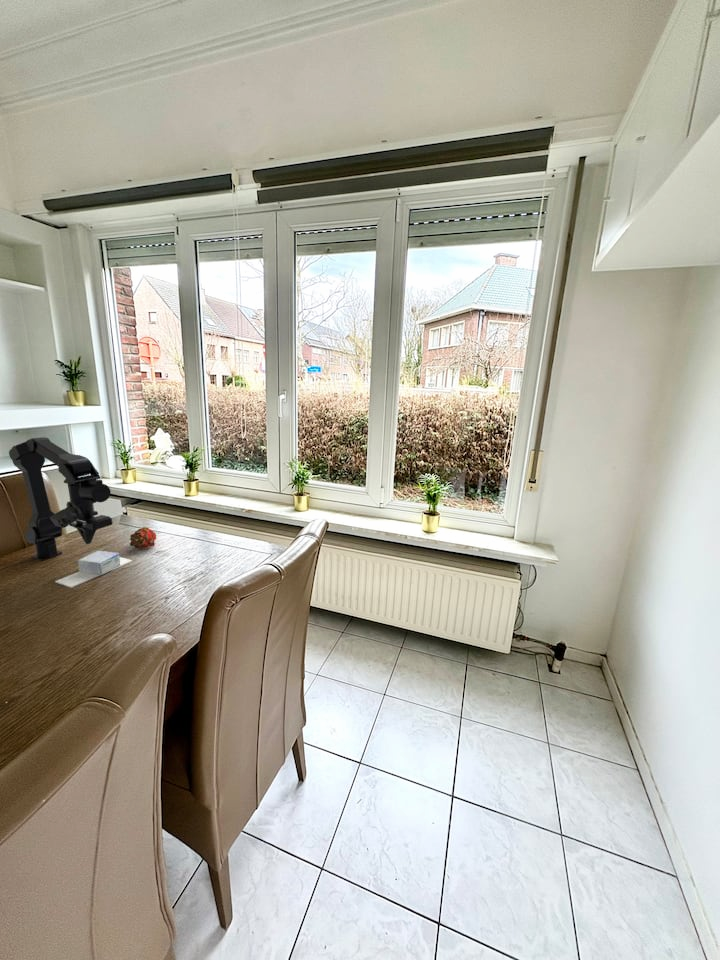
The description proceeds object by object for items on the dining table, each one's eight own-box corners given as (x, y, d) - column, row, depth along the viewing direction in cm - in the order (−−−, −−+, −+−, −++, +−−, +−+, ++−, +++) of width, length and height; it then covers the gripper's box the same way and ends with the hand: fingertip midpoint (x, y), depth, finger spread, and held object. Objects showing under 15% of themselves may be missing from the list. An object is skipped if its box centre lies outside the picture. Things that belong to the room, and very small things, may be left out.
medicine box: (78, 572, 123) (101, 575, 121) (76, 559, 122) (99, 563, 120) (99, 561, 130) (121, 564, 129) (97, 549, 129) (119, 552, 128)
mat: (55, 582, 117) (55, 581, 117) (117, 557, 135) (117, 556, 135) (70, 587, 114) (70, 586, 114) (132, 561, 132) (132, 560, 132)
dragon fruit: (140, 558, 138) (144, 550, 149) (160, 542, 140) (162, 535, 151) (122, 542, 135) (127, 535, 146) (143, 526, 138) (146, 520, 148)
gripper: (33, 500, 116) (42, 547, 120) (72, 509, 109) (80, 559, 113) (72, 491, 126) (79, 535, 130) (110, 499, 119) (116, 545, 123)
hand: (88, 543), depth 123 cm, fingers closed
